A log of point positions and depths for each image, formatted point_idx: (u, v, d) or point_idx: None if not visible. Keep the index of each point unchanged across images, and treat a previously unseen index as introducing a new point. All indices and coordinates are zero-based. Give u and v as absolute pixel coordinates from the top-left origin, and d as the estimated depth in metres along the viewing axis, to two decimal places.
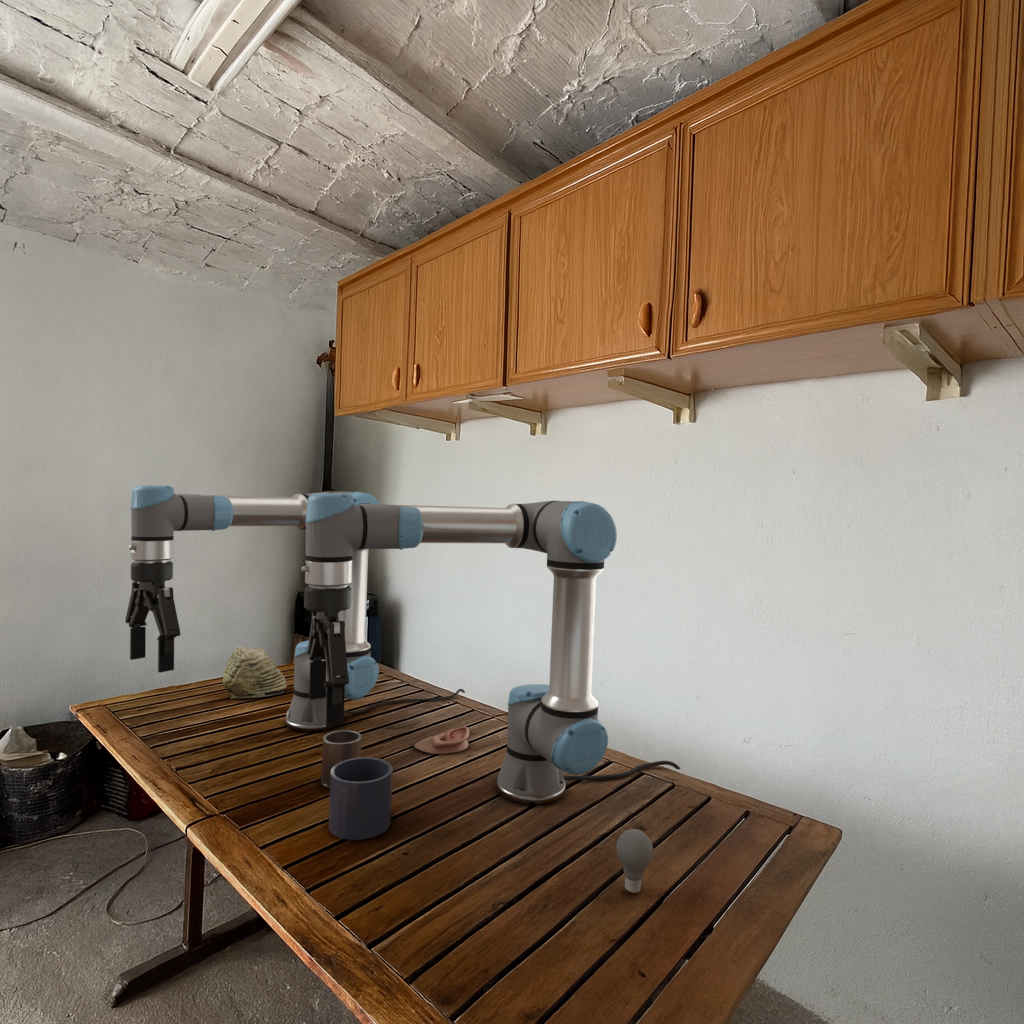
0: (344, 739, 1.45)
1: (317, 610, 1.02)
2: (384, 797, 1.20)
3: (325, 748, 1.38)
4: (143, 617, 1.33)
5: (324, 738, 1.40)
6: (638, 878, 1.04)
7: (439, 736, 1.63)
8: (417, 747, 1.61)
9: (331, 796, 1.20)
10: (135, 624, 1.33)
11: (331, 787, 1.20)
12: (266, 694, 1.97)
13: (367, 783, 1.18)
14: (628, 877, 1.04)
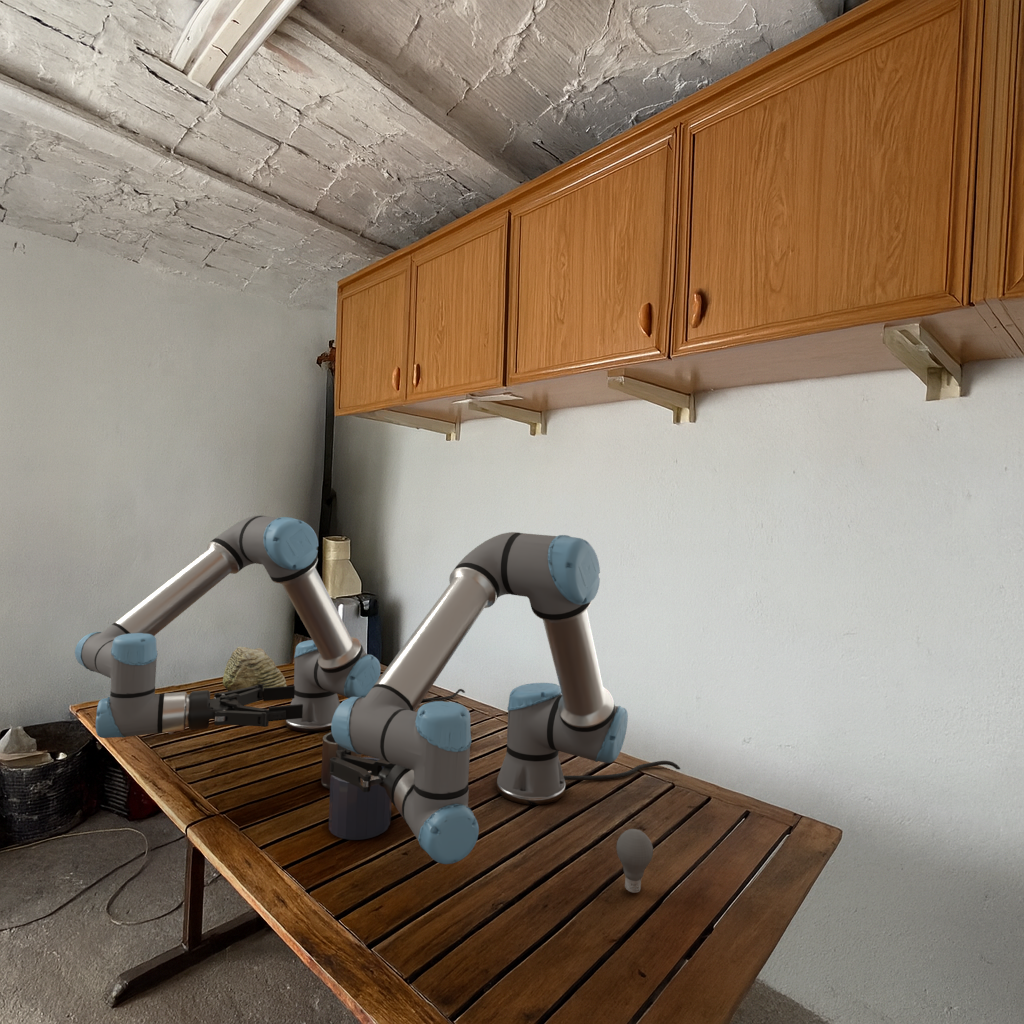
0: None
1: None
2: (384, 797, 1.20)
3: (325, 748, 1.38)
4: (252, 694, 1.38)
5: (324, 738, 1.40)
6: (638, 878, 1.04)
7: None
8: None
9: (331, 796, 1.20)
10: (260, 695, 1.40)
11: (331, 787, 1.20)
12: None
13: None
14: (628, 877, 1.04)
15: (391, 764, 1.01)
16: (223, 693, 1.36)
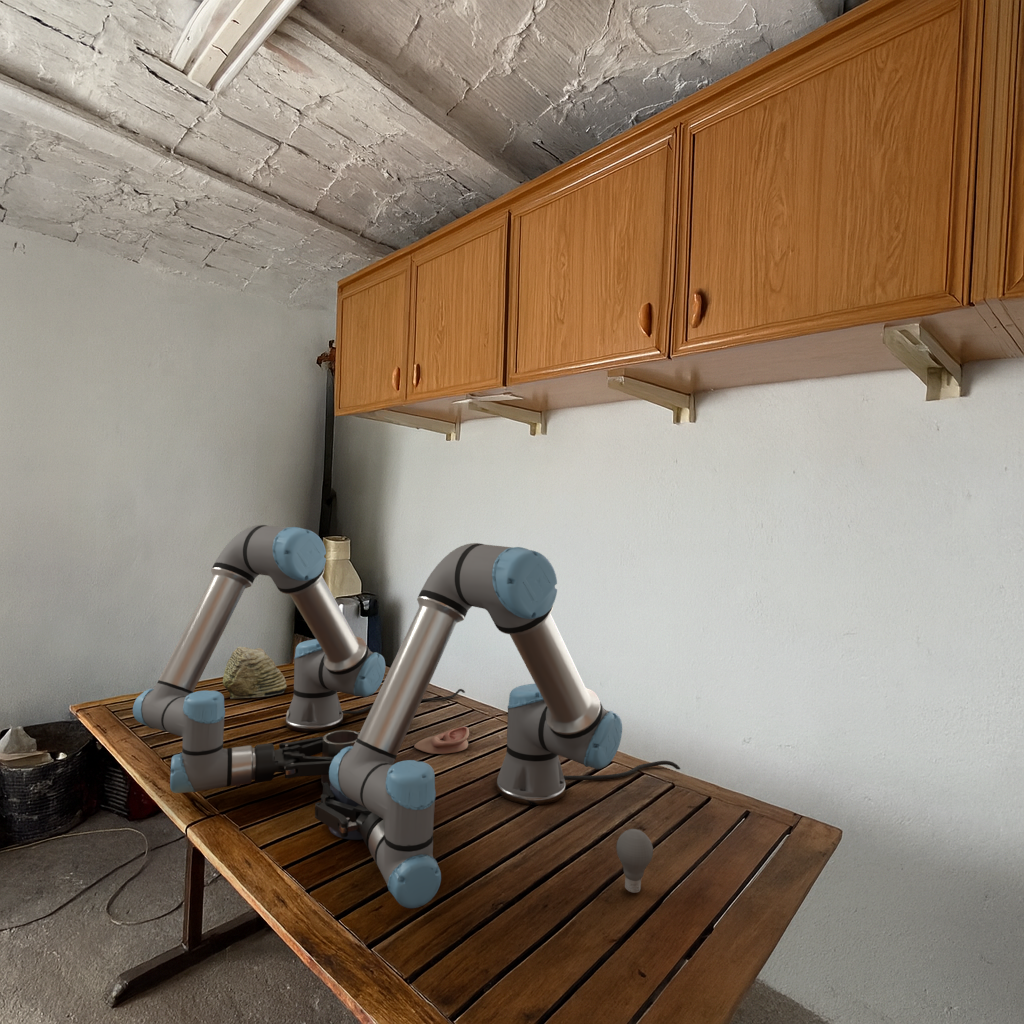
0: (344, 739, 1.45)
1: None
2: None
3: (325, 748, 1.38)
4: (316, 746, 1.43)
5: (324, 738, 1.40)
6: (638, 878, 1.04)
7: (439, 736, 1.63)
8: (417, 747, 1.61)
9: None
10: None
11: (331, 787, 1.20)
12: (266, 694, 1.97)
13: None
14: (628, 877, 1.04)
15: (367, 811, 1.12)
16: (287, 744, 1.42)
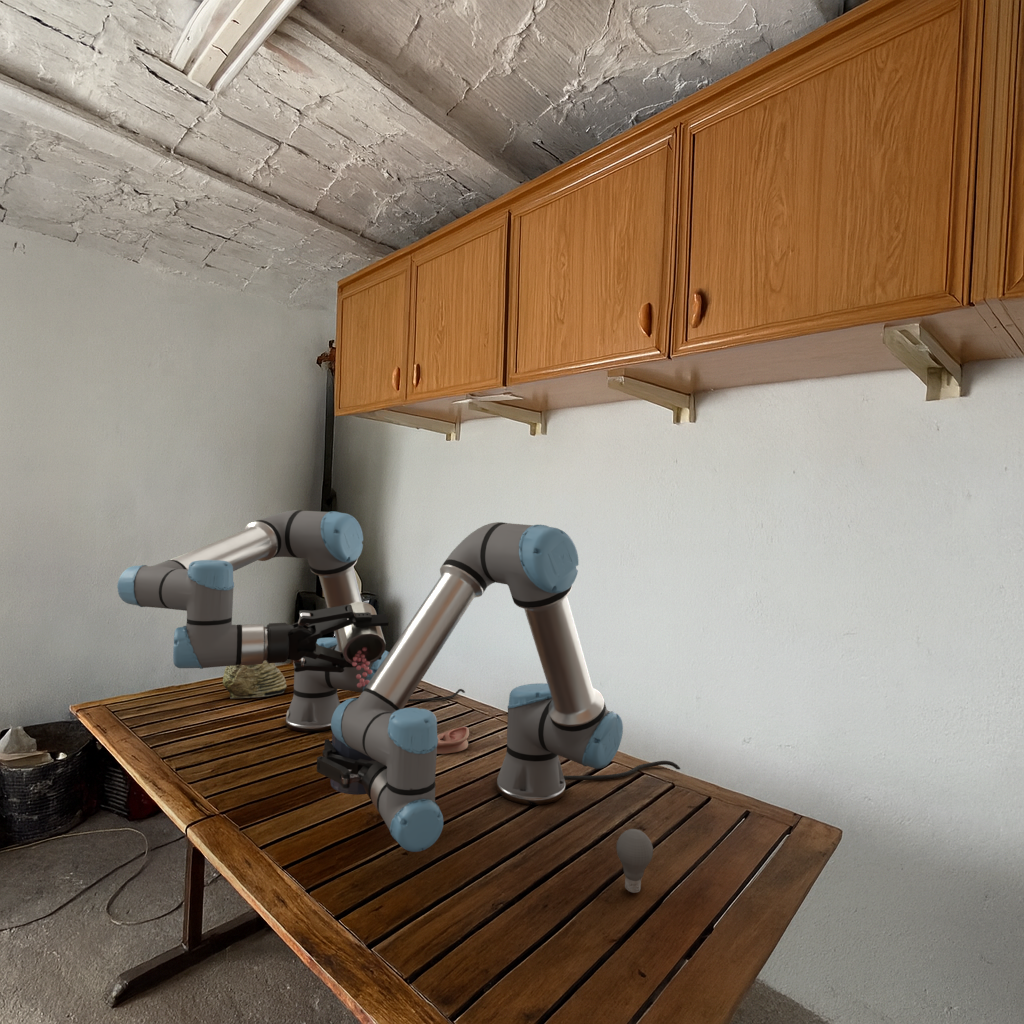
0: None
1: None
2: None
3: None
4: None
5: (345, 650, 1.24)
6: (638, 878, 1.04)
7: (439, 736, 1.63)
8: None
9: None
10: None
11: (333, 743, 1.20)
12: (266, 694, 1.97)
13: None
14: (628, 877, 1.04)
15: (369, 763, 1.12)
16: (309, 622, 1.20)
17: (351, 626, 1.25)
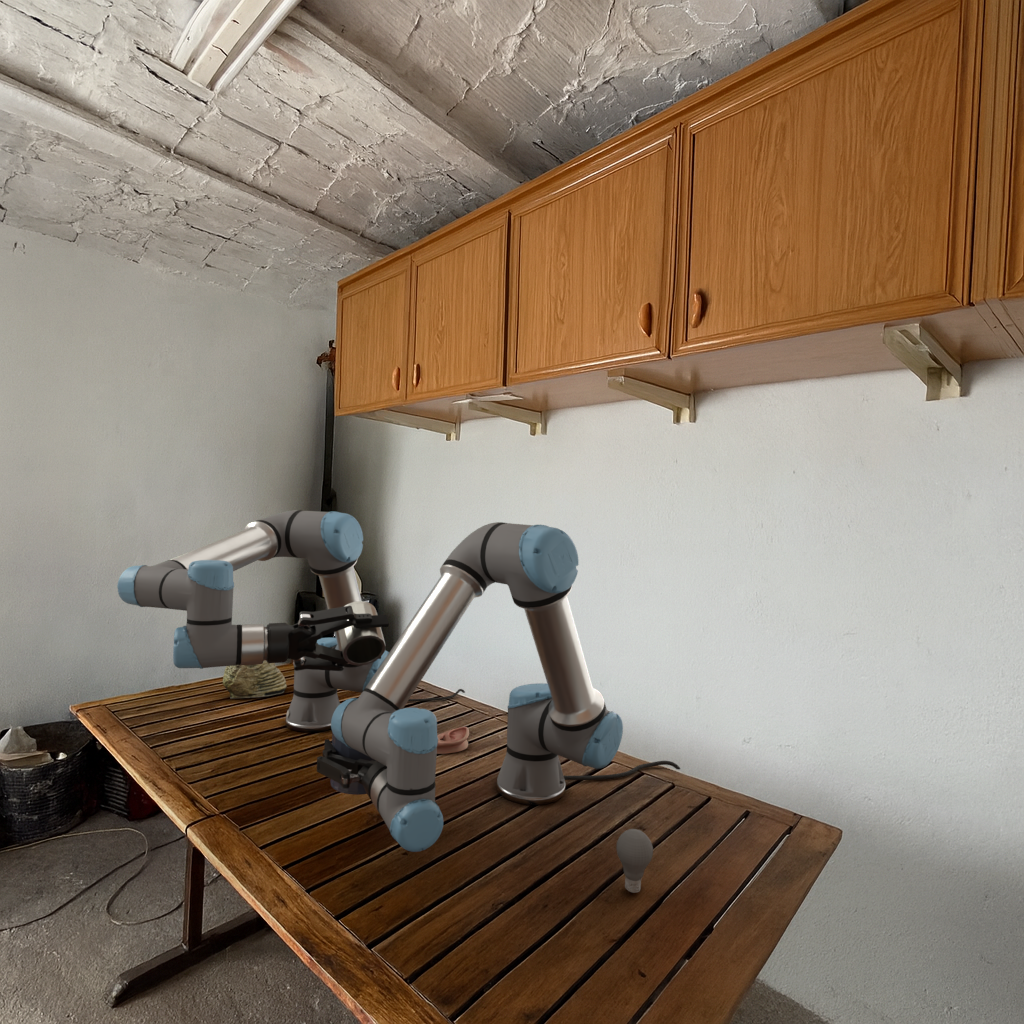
0: None
1: None
2: None
3: None
4: None
5: (345, 650, 1.24)
6: (638, 878, 1.04)
7: (439, 736, 1.63)
8: None
9: None
10: None
11: (333, 743, 1.20)
12: (266, 694, 1.97)
13: None
14: (628, 877, 1.04)
15: (369, 763, 1.12)
16: (309, 623, 1.20)
17: (351, 627, 1.25)
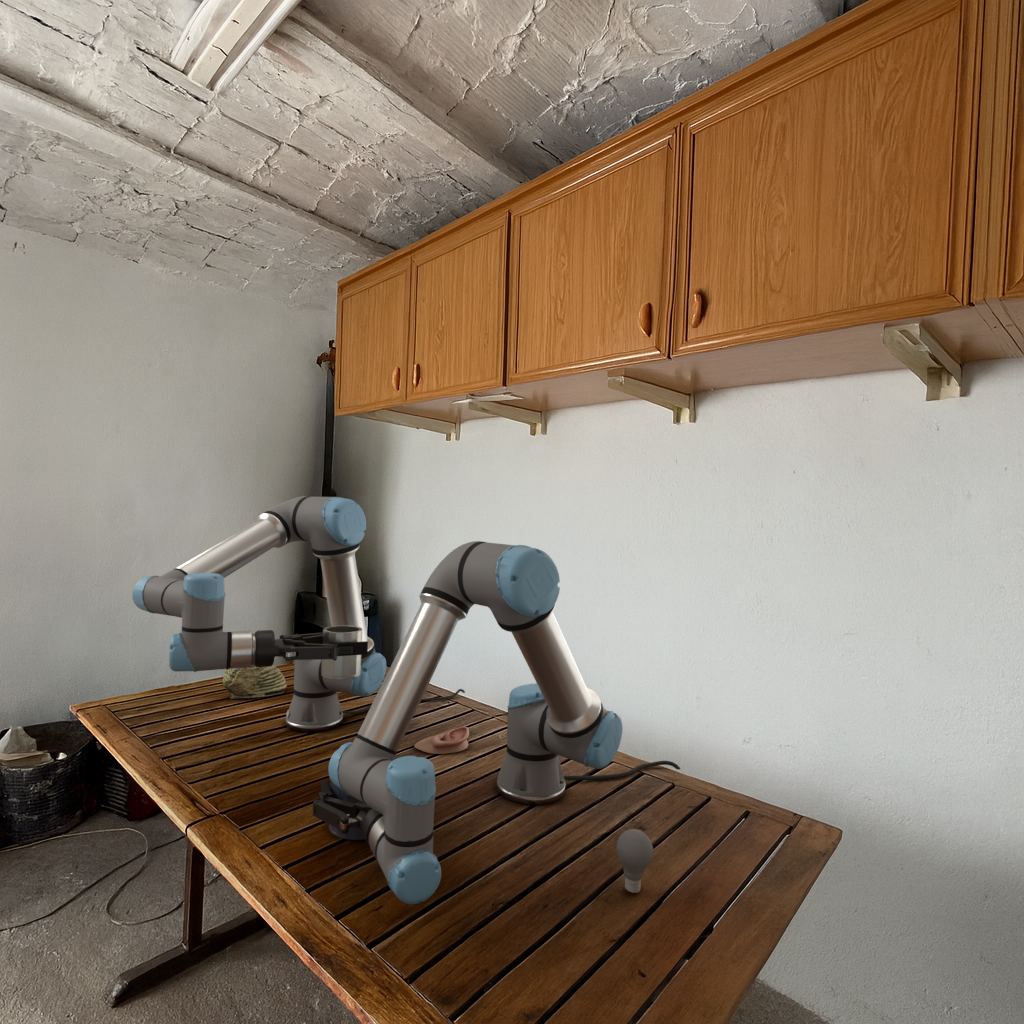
0: None
1: None
2: None
3: (325, 638, 1.37)
4: (317, 639, 1.41)
5: (324, 629, 1.38)
6: (638, 878, 1.04)
7: (439, 736, 1.63)
8: (417, 747, 1.61)
9: None
10: None
11: (331, 787, 1.20)
12: (266, 694, 1.97)
13: None
14: (628, 877, 1.04)
15: (368, 807, 1.12)
16: (287, 636, 1.40)
17: None
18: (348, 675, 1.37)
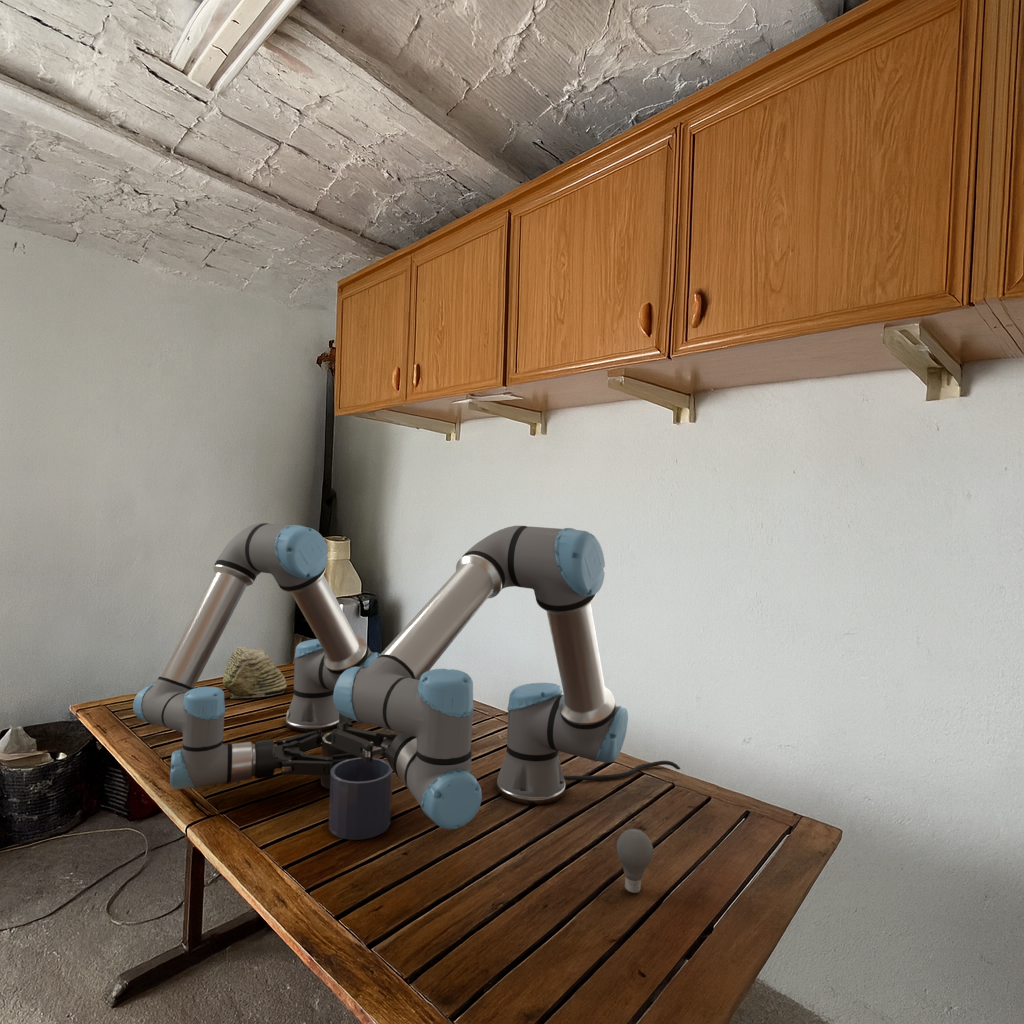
0: None
1: None
2: (384, 797, 1.20)
3: (324, 748, 1.38)
4: (312, 740, 1.44)
5: (323, 738, 1.40)
6: (638, 878, 1.04)
7: None
8: None
9: (331, 796, 1.20)
10: (318, 741, 1.46)
11: (331, 787, 1.20)
12: (266, 694, 1.97)
13: (367, 783, 1.18)
14: (628, 877, 1.04)
15: (393, 735, 1.00)
16: (284, 740, 1.42)
17: None
18: None
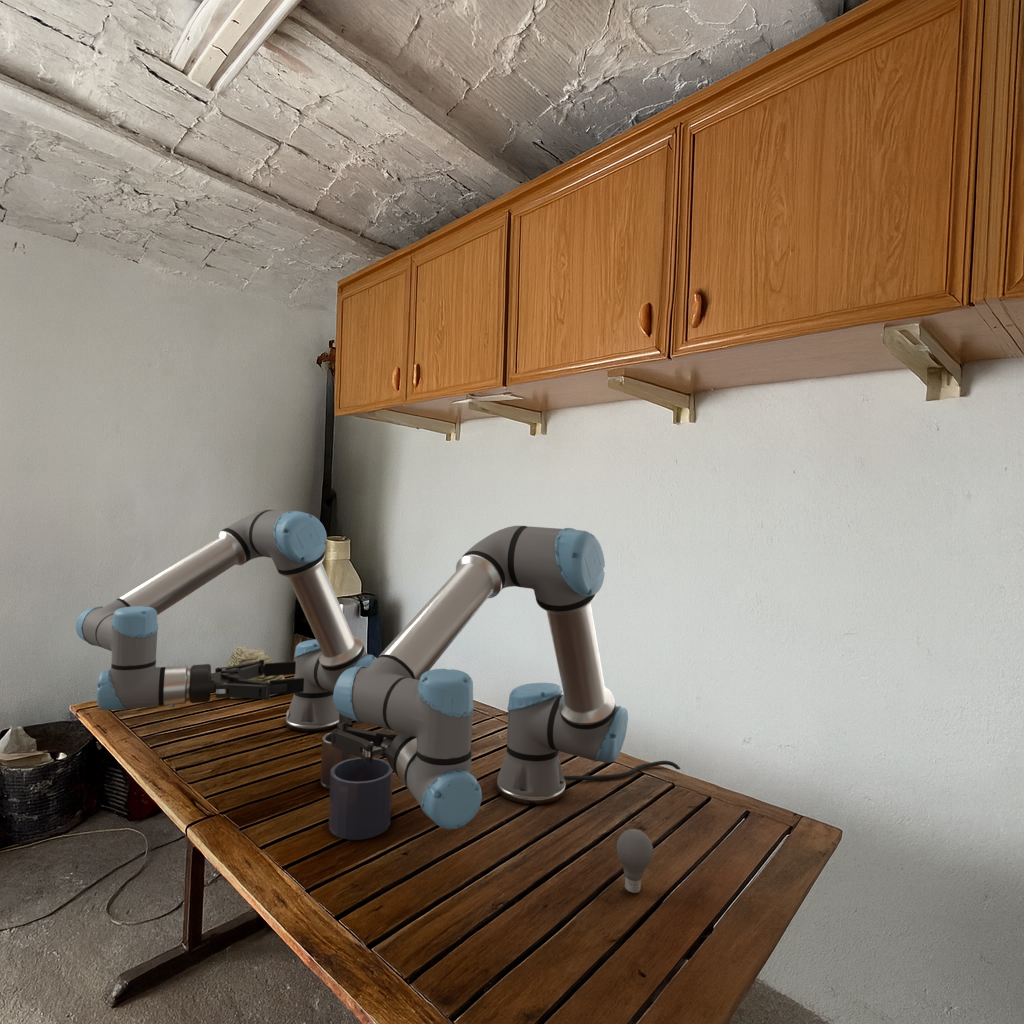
0: None
1: None
2: (384, 797, 1.20)
3: (324, 748, 1.38)
4: (253, 669, 1.38)
5: (323, 738, 1.40)
6: (638, 878, 1.04)
7: None
8: None
9: (331, 796, 1.20)
10: (261, 671, 1.40)
11: (331, 787, 1.20)
12: None
13: (367, 783, 1.18)
14: (628, 877, 1.04)
15: (393, 735, 1.00)
16: (224, 668, 1.36)
17: None
18: None
